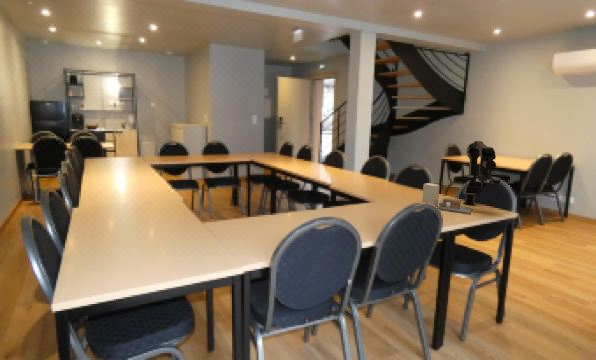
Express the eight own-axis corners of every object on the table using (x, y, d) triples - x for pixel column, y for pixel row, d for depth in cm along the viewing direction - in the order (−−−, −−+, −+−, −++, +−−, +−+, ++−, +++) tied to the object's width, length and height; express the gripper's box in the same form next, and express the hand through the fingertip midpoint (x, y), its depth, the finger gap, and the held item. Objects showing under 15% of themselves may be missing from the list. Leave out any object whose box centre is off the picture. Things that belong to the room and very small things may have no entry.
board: (441, 204, 242) (442, 197, 241) (471, 209, 234) (472, 202, 233) (438, 209, 229) (439, 202, 228) (470, 214, 221) (471, 207, 220)
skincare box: (437, 208, 233) (440, 185, 231) (431, 209, 230) (434, 185, 227) (426, 204, 240) (429, 182, 238) (420, 205, 237) (423, 183, 234)
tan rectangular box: (443, 205, 237) (444, 197, 236) (460, 207, 232) (461, 199, 231) (442, 206, 232) (443, 199, 231) (459, 209, 228) (460, 201, 227)
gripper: (467, 167, 223) (463, 192, 225) (502, 171, 214) (498, 197, 217) (468, 165, 232) (464, 189, 235) (501, 168, 224) (497, 193, 227)
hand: (480, 192), depth 228 cm, fingers closed
